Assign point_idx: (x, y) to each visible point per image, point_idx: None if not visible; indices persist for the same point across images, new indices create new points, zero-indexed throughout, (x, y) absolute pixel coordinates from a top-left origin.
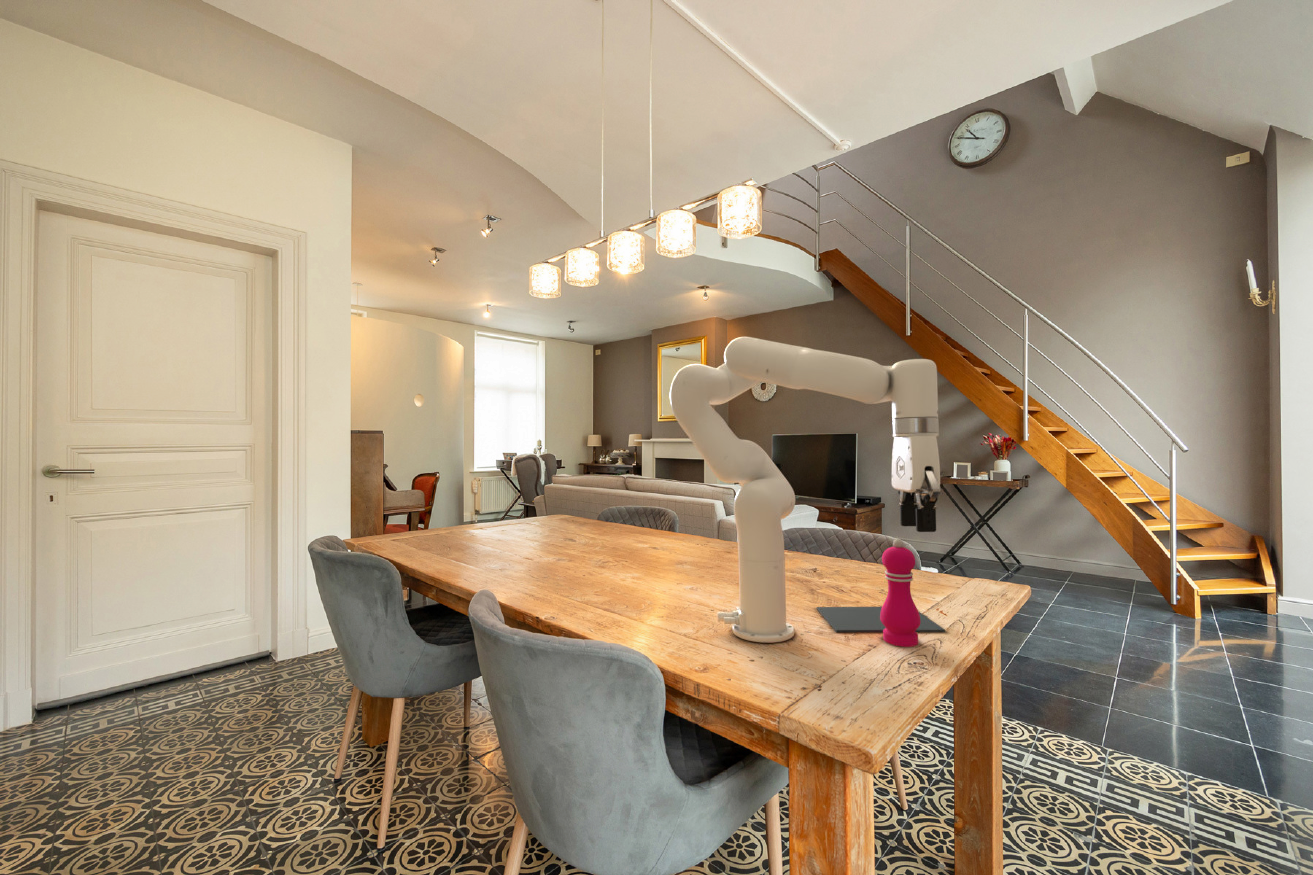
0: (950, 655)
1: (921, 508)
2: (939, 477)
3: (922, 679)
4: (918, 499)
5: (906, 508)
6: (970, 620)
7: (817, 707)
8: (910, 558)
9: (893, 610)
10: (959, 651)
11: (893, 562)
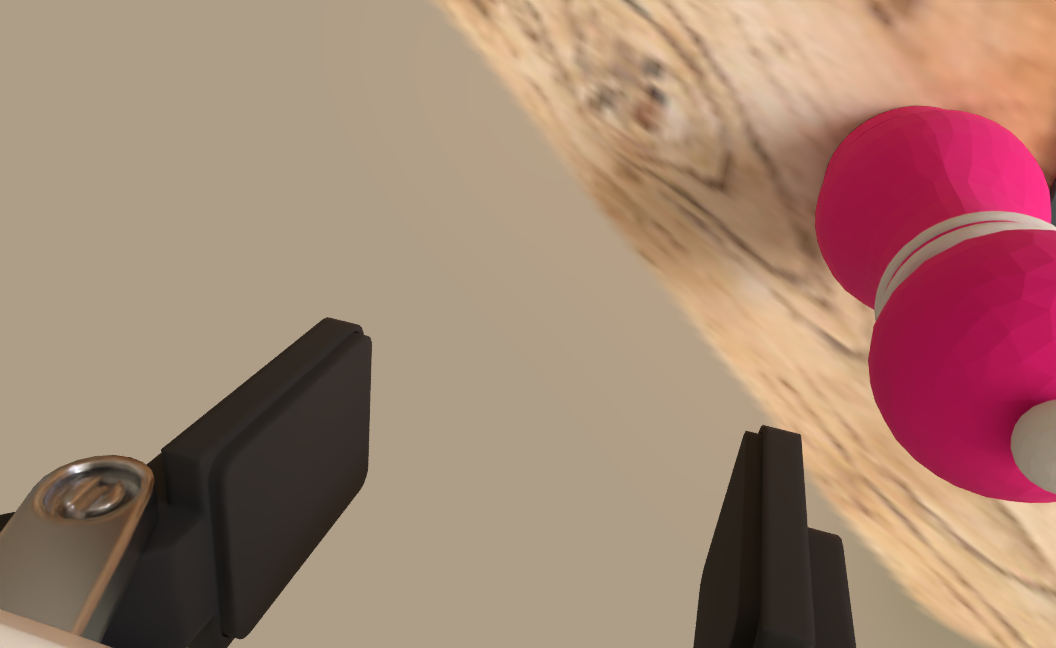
0: (695, 283)
1: (98, 472)
2: None
3: (506, 28)
4: (26, 559)
5: (724, 634)
6: (1033, 628)
7: None
8: (881, 403)
9: (885, 161)
10: (724, 342)
11: (936, 266)
